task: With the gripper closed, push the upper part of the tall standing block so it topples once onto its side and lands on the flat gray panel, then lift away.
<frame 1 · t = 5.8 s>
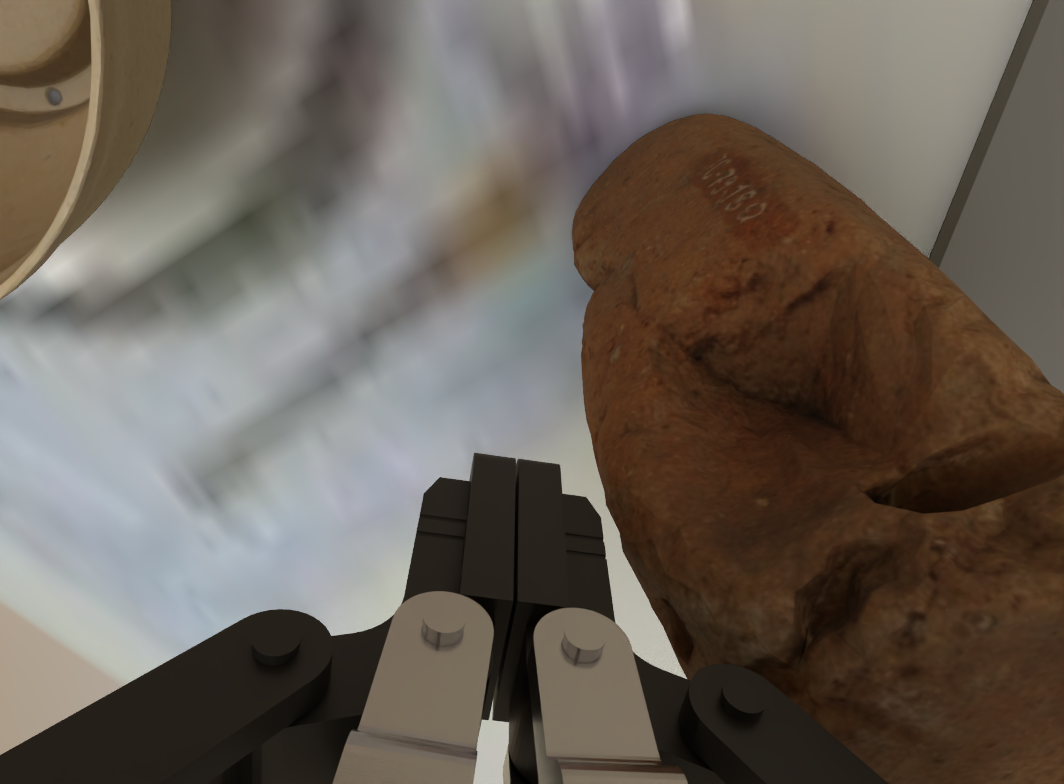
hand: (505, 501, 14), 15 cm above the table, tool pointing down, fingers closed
block: (707, 259, 28), on the table, touching gripper
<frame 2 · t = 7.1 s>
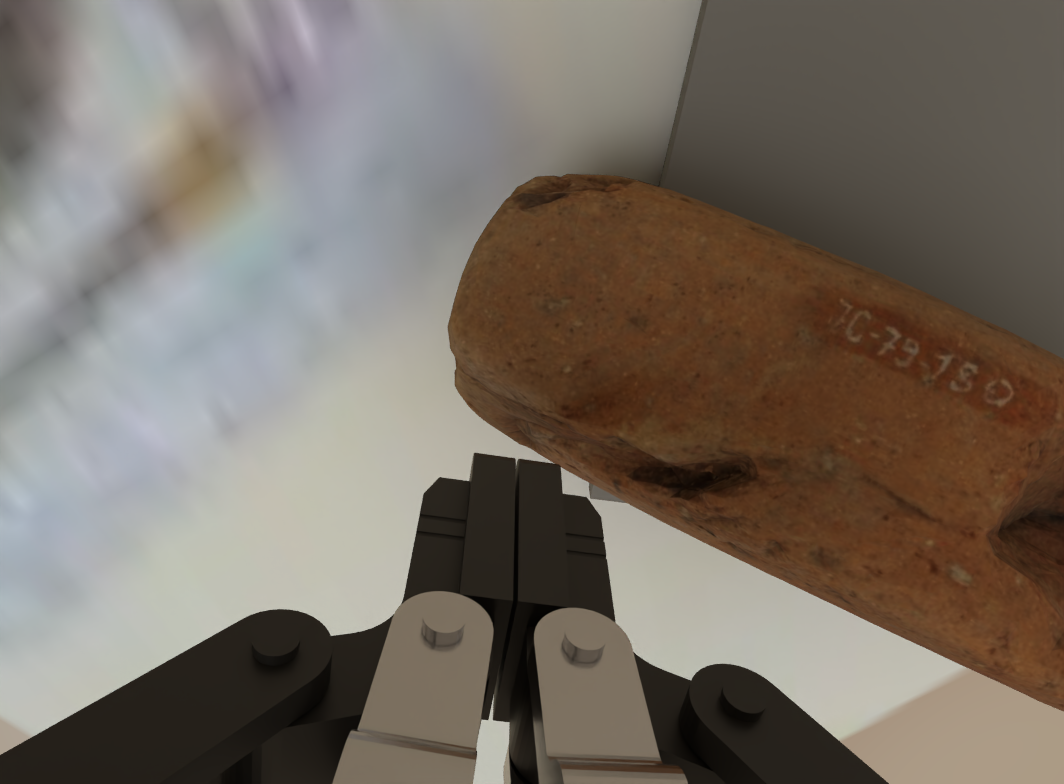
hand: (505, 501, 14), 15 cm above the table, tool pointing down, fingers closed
block: (498, 290, 23), point 5 cm above the table, touching flat gray panel
flat gray panel: (893, 286, 28), on the table
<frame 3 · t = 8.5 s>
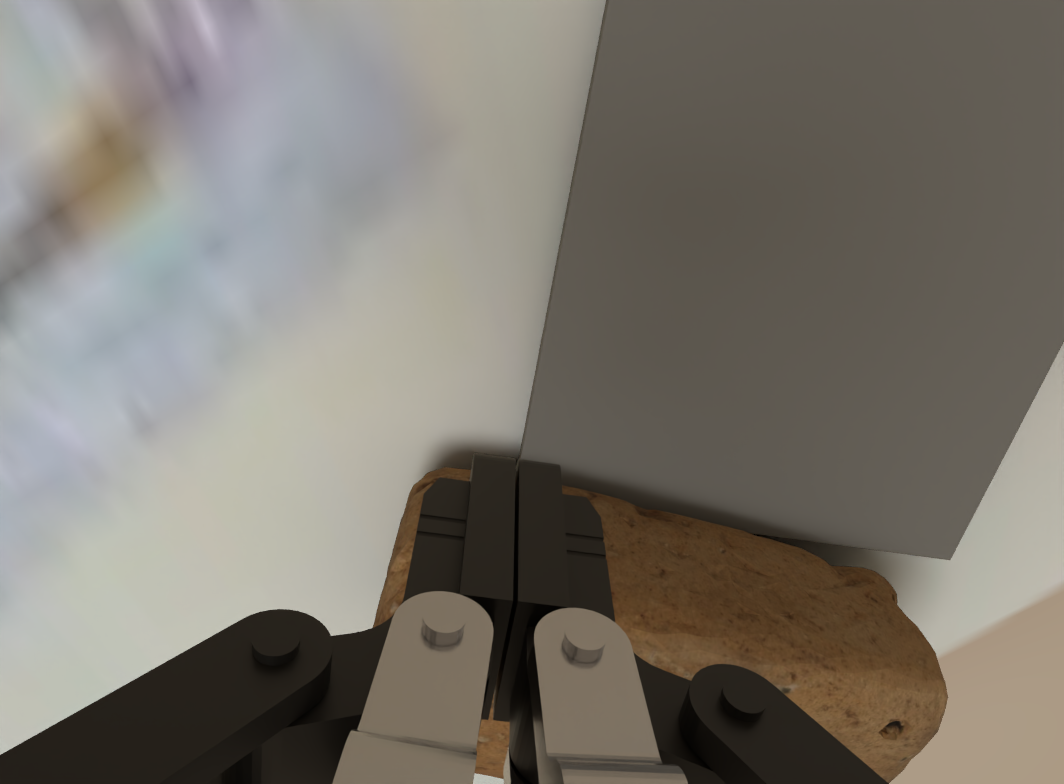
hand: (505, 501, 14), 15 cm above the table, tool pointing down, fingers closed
block: (370, 604, 29), point 4 cm above the table, touching flat gray panel
flat gray panel: (812, 289, 28), on the table
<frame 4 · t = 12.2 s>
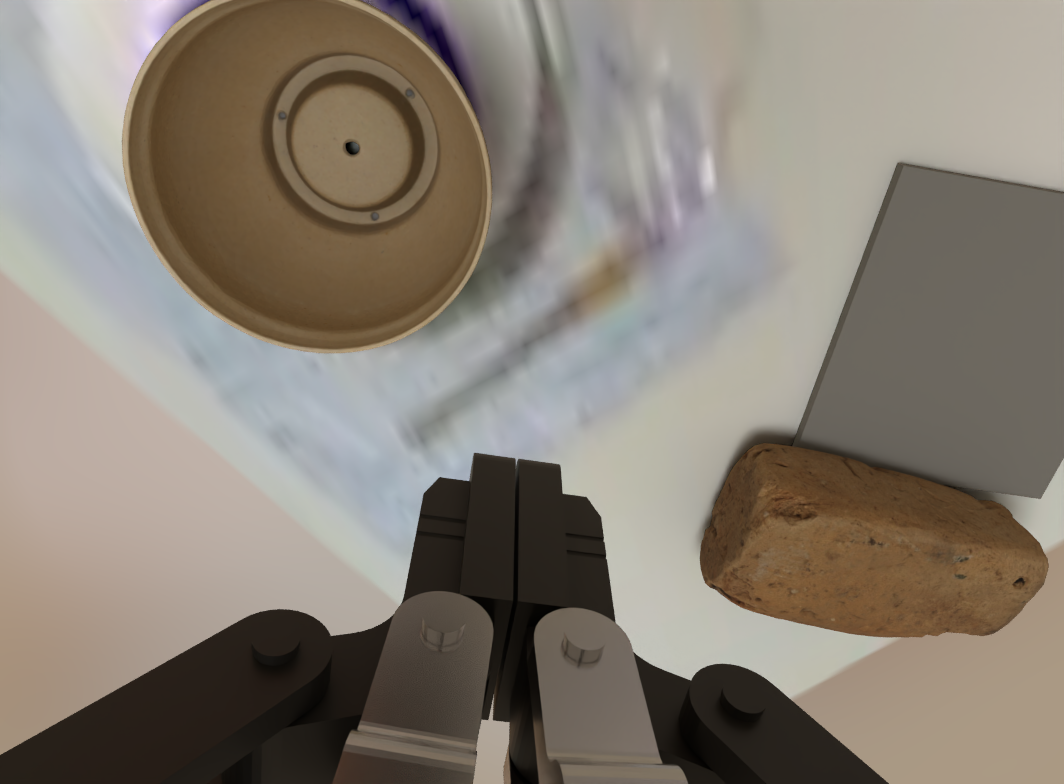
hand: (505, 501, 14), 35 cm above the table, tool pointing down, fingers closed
block: (722, 520, 52), point 4 cm above the table, touching flat gray panel
flat gray panel: (973, 344, 51), on the table
planter bowl: (355, 141, 45), on the table
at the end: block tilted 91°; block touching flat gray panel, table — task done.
